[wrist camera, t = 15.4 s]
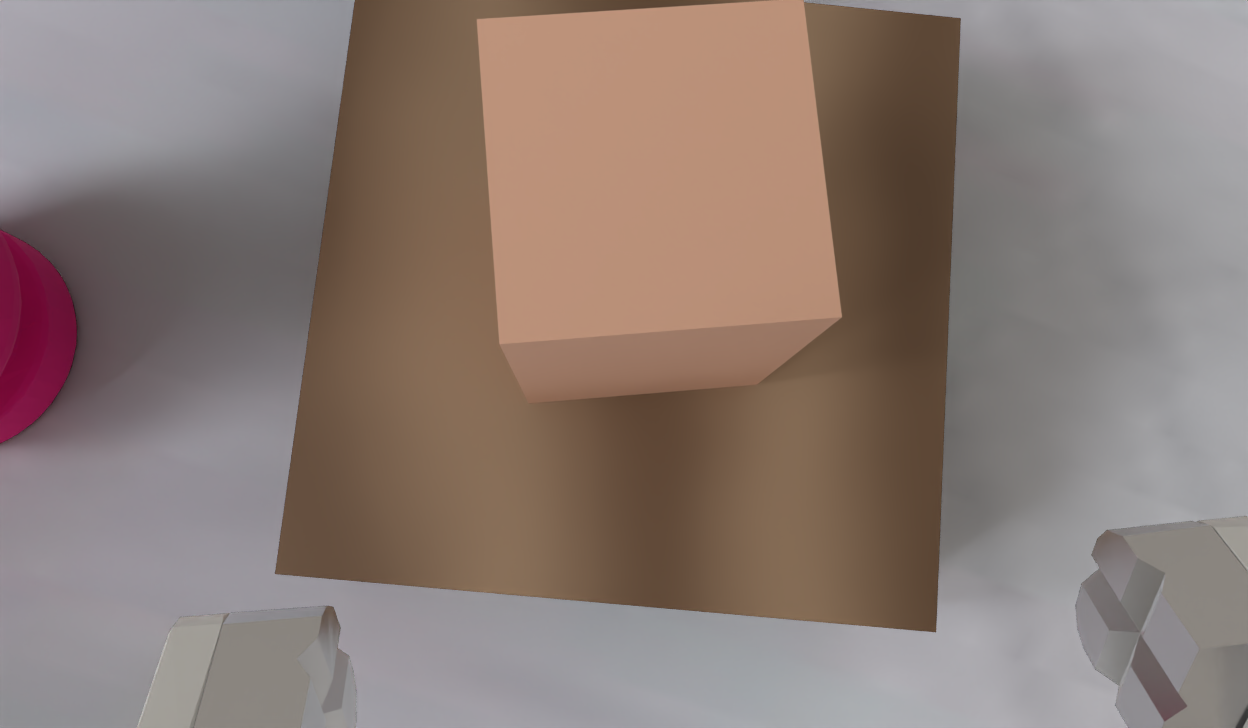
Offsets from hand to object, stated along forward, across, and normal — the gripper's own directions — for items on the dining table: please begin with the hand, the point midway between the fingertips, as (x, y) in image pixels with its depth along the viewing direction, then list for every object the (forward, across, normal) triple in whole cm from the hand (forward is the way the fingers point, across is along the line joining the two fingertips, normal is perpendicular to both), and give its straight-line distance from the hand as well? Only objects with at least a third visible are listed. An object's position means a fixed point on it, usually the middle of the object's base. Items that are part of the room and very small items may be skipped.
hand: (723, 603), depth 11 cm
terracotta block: (+12, 0, +3) cm, 12 cm away
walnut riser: (+16, 0, +8) cm, 18 cm away
